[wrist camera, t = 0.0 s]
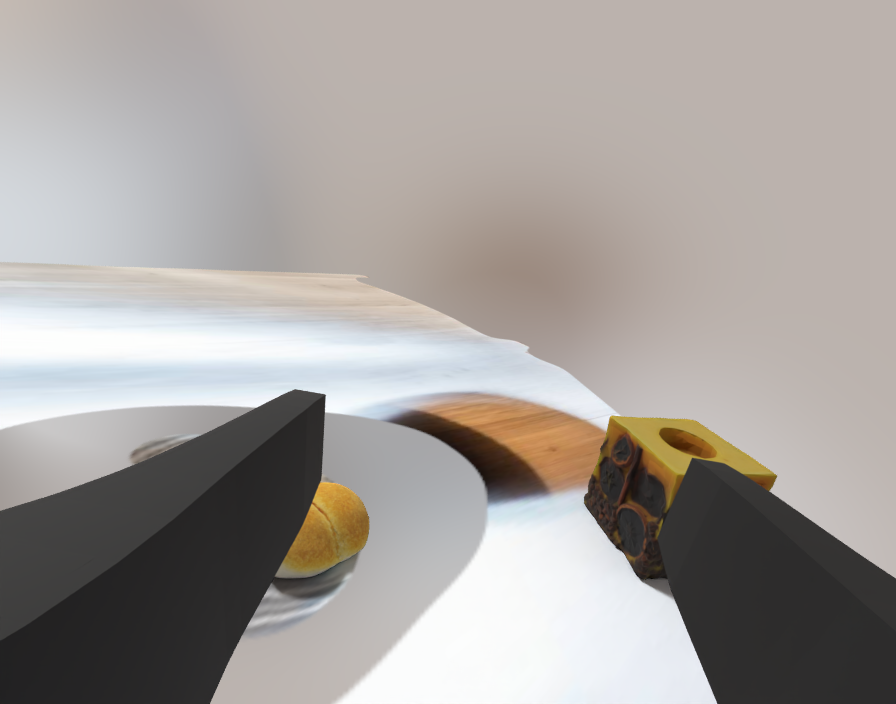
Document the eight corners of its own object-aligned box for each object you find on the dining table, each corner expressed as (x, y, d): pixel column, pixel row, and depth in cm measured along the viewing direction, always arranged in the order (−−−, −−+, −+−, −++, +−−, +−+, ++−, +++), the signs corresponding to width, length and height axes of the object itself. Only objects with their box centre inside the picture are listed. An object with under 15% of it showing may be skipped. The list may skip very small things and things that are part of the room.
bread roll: (386, 542, 37) (392, 501, 36) (284, 603, 31) (287, 555, 29) (326, 491, 42) (330, 453, 41) (227, 534, 35) (228, 490, 34)
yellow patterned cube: (639, 582, 37) (677, 476, 34) (579, 502, 46) (605, 413, 43) (740, 576, 40) (784, 477, 37) (664, 501, 49) (694, 417, 46)
